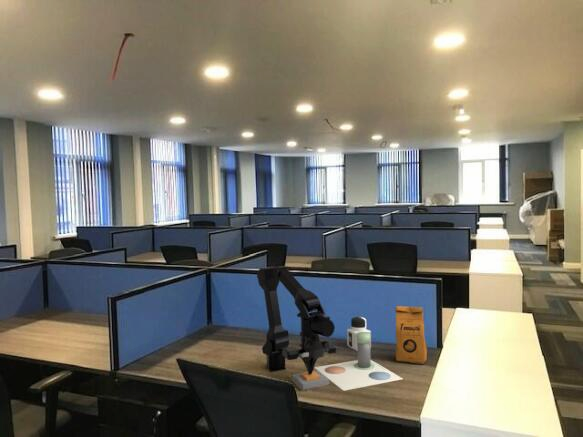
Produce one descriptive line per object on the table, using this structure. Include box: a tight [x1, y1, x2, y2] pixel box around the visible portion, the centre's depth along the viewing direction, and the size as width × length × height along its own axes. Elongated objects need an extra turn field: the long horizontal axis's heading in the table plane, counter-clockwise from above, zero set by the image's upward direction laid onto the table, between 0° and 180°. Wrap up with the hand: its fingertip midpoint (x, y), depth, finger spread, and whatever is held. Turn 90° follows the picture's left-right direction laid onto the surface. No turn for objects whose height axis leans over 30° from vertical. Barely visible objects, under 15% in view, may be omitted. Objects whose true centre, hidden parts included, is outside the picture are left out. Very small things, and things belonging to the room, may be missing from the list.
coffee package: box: [395, 305, 428, 365], centre depth 190 cm, size 10×12×22 cm
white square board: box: [314, 359, 404, 392], centre depth 177 cm, size 24×24×1 cm
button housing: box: [291, 369, 330, 392], centre depth 170 cm, size 10×10×2 cm
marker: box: [356, 332, 372, 368], centre depth 183 cm, size 5×5×12 cm
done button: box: [300, 370, 320, 381], centre depth 170 cm, size 5×5×2 cm
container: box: [346, 316, 372, 351], centre depth 209 cm, size 8×8×13 cm
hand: (310, 374), depth 170 cm, fingers closed
